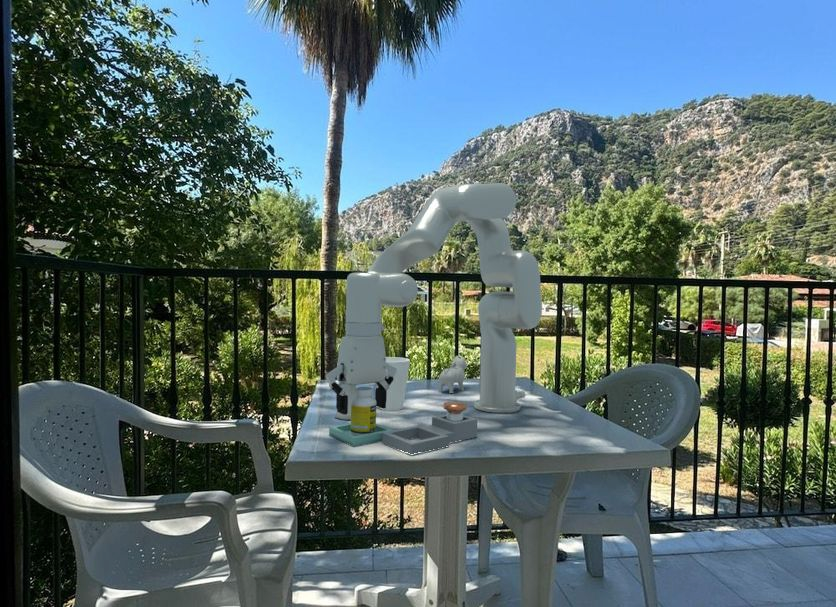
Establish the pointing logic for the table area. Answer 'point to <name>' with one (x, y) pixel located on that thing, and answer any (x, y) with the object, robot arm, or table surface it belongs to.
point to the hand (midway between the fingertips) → (361, 410)
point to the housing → (431, 434)
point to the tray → (345, 435)
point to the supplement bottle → (363, 412)
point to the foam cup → (397, 383)
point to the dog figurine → (453, 374)
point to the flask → (350, 397)
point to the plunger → (455, 410)
